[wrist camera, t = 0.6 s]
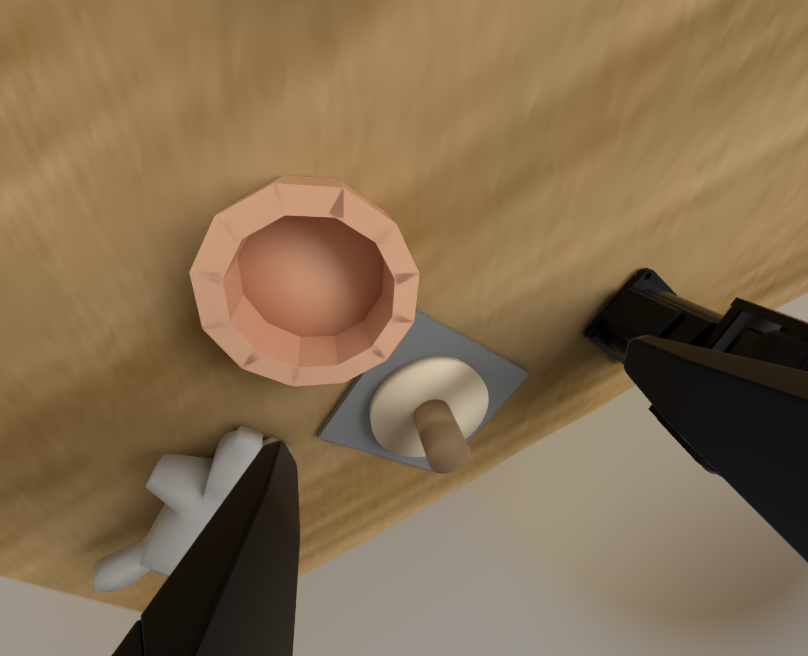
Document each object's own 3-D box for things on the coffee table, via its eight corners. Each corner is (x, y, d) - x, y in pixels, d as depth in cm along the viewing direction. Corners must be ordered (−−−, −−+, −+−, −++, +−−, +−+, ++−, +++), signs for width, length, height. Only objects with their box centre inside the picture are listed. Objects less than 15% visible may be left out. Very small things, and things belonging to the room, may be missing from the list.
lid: (505, 381, 26) (542, 428, 22) (437, 458, 28) (458, 513, 24) (414, 335, 22) (437, 382, 18) (346, 429, 24) (352, 489, 20)
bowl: (432, 243, 20) (456, 264, 16) (347, 367, 23) (352, 407, 19) (268, 130, 15) (254, 126, 12) (188, 303, 18) (158, 339, 15)
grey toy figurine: (328, 491, 22) (204, 634, 24) (322, 439, 27) (218, 564, 29) (184, 442, 18) (46, 623, 20) (205, 390, 22) (91, 541, 24)
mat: (525, 369, 27) (529, 374, 26) (438, 467, 30) (440, 473, 29) (407, 304, 21) (410, 308, 21) (318, 431, 25) (318, 438, 24)
